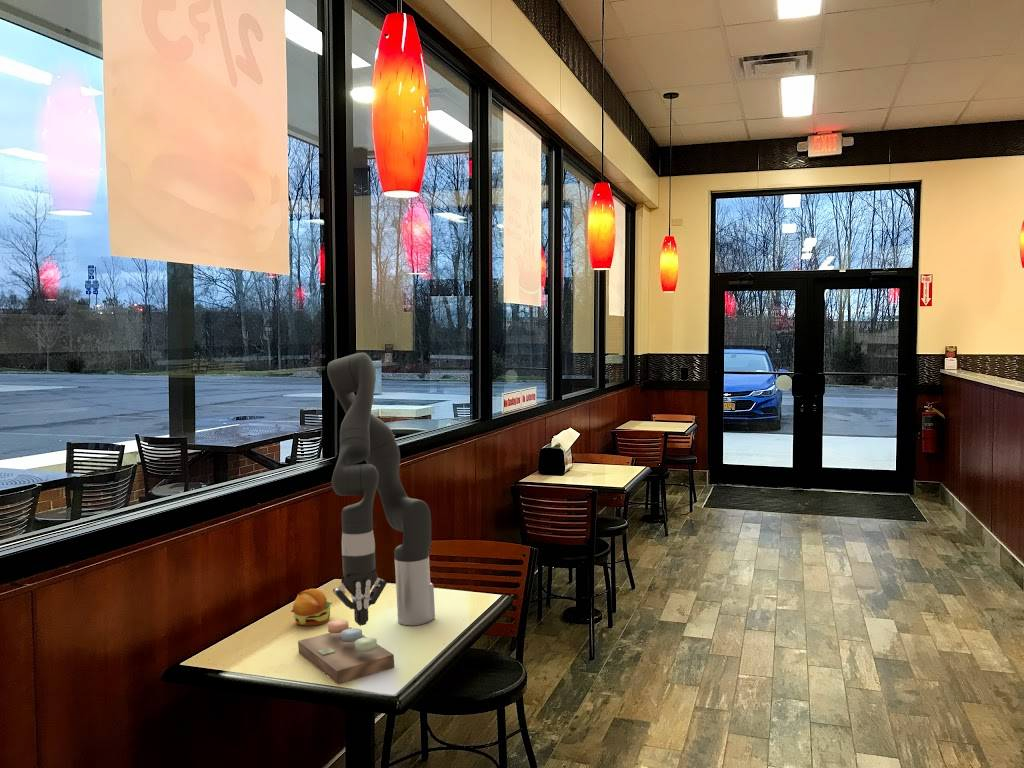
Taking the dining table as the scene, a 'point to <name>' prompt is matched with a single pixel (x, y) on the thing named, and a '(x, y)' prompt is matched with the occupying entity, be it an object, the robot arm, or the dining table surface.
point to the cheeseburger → (311, 608)
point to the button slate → (351, 635)
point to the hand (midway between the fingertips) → (361, 624)
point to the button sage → (365, 644)
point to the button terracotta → (337, 626)
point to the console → (343, 657)
